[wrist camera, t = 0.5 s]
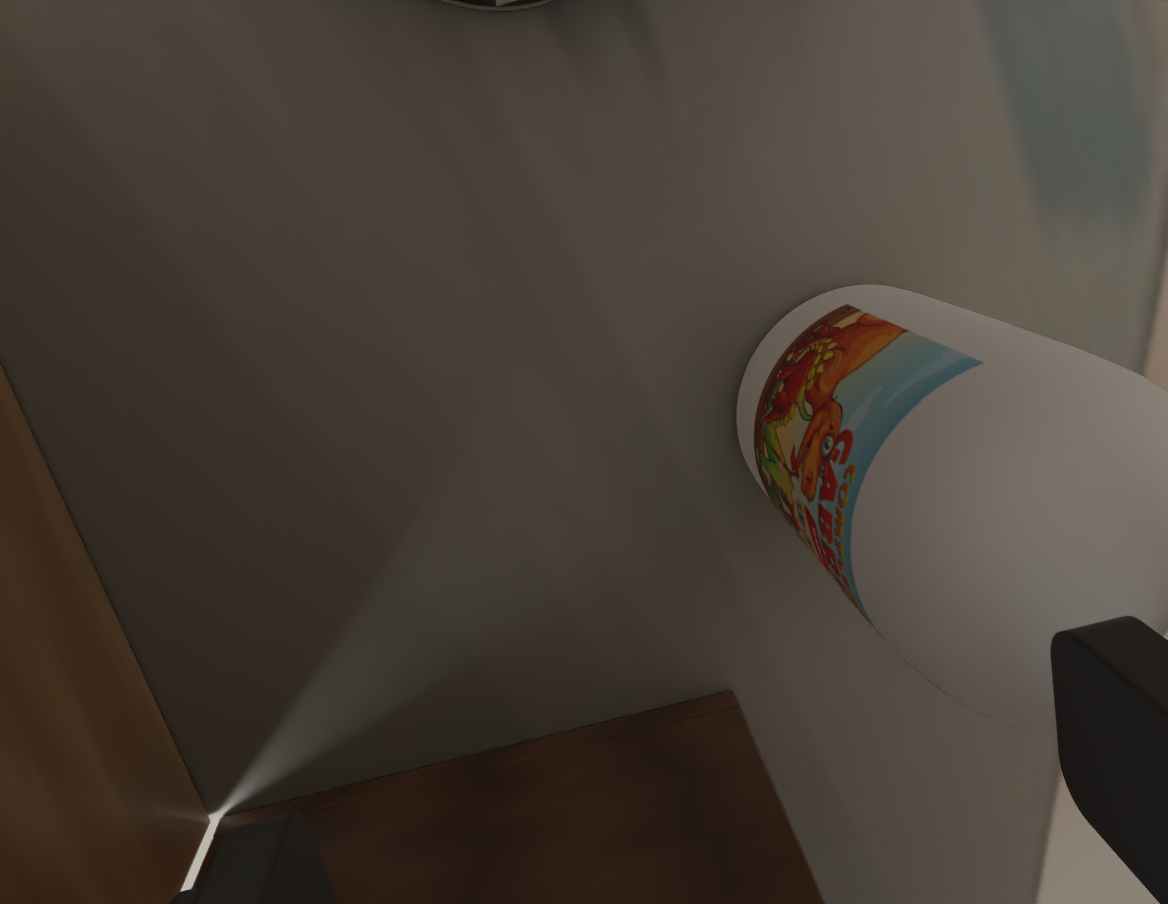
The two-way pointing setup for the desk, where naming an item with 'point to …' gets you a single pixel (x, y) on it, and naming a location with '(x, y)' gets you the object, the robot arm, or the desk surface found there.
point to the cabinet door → (76, 716)
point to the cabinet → (569, 821)
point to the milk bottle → (963, 484)
